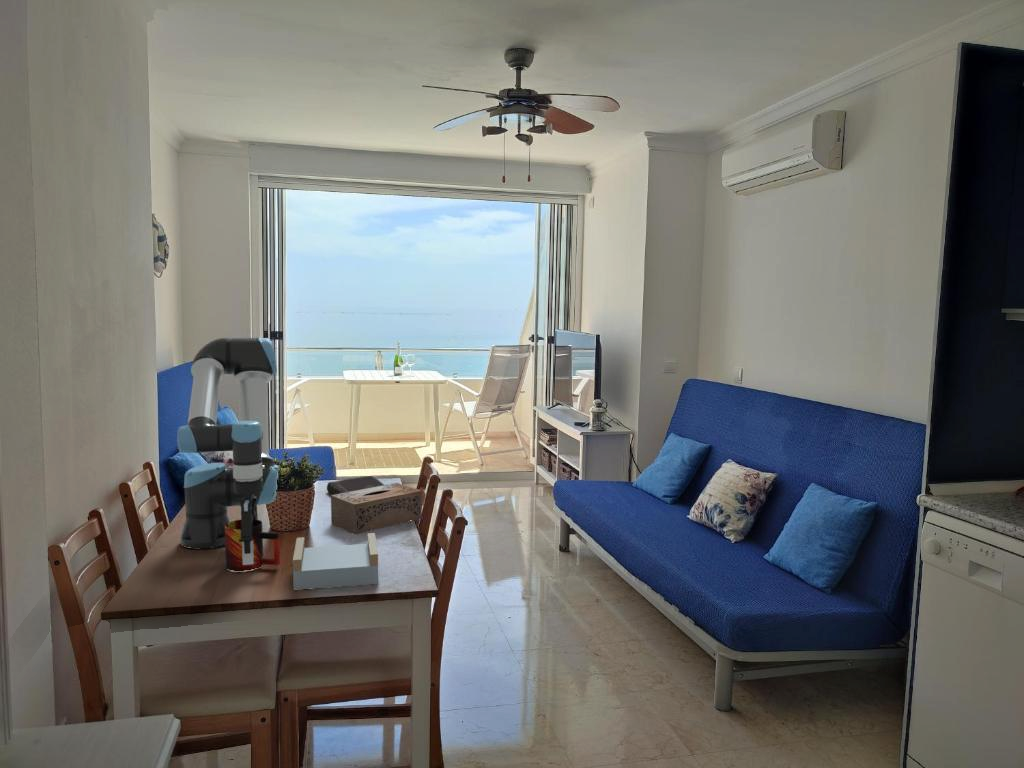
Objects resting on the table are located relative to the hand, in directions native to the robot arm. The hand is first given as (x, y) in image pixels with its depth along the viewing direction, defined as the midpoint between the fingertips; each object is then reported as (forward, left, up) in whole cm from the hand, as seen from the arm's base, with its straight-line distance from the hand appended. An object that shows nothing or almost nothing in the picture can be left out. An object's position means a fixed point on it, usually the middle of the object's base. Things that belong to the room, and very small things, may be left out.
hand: (250, 557), depth 203 cm
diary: (+32, +68, -3) cm, 75 cm away
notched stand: (+23, -12, -2) cm, 26 cm away
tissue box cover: (+36, +35, -3) cm, 50 cm away
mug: (+1, 0, -3) cm, 3 cm away
